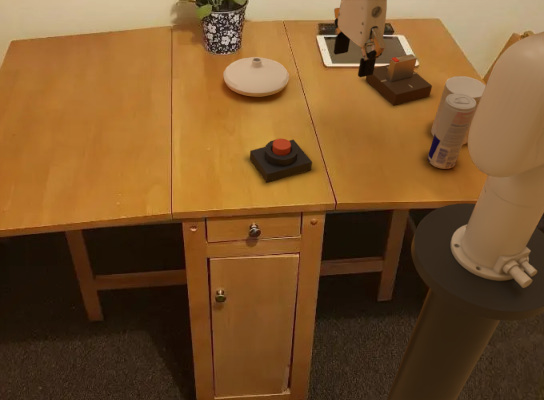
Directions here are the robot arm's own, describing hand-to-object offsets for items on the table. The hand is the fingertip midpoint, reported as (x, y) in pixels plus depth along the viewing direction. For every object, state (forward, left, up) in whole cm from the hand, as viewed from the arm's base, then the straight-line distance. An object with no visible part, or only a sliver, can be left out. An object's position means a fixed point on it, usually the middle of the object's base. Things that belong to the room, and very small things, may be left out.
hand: (352, 63), depth 119 cm
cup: (-12, -20, -15) cm, 28 cm away
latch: (+8, -20, -12) cm, 24 cm away
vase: (+22, +11, -15) cm, 29 cm away
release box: (-7, +19, -15) cm, 25 cm away
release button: (-7, +19, -12) cm, 24 cm away
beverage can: (-19, -12, -15) cm, 27 cm away
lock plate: (+8, -20, -15) cm, 26 cm away
